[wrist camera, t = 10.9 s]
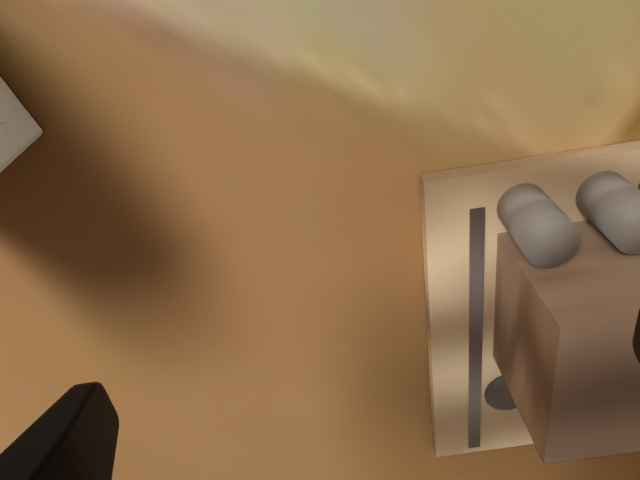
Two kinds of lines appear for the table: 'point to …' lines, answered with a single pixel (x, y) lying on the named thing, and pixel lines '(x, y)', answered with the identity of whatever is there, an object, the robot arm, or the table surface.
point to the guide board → (480, 269)
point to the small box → (14, 127)
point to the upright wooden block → (571, 346)
